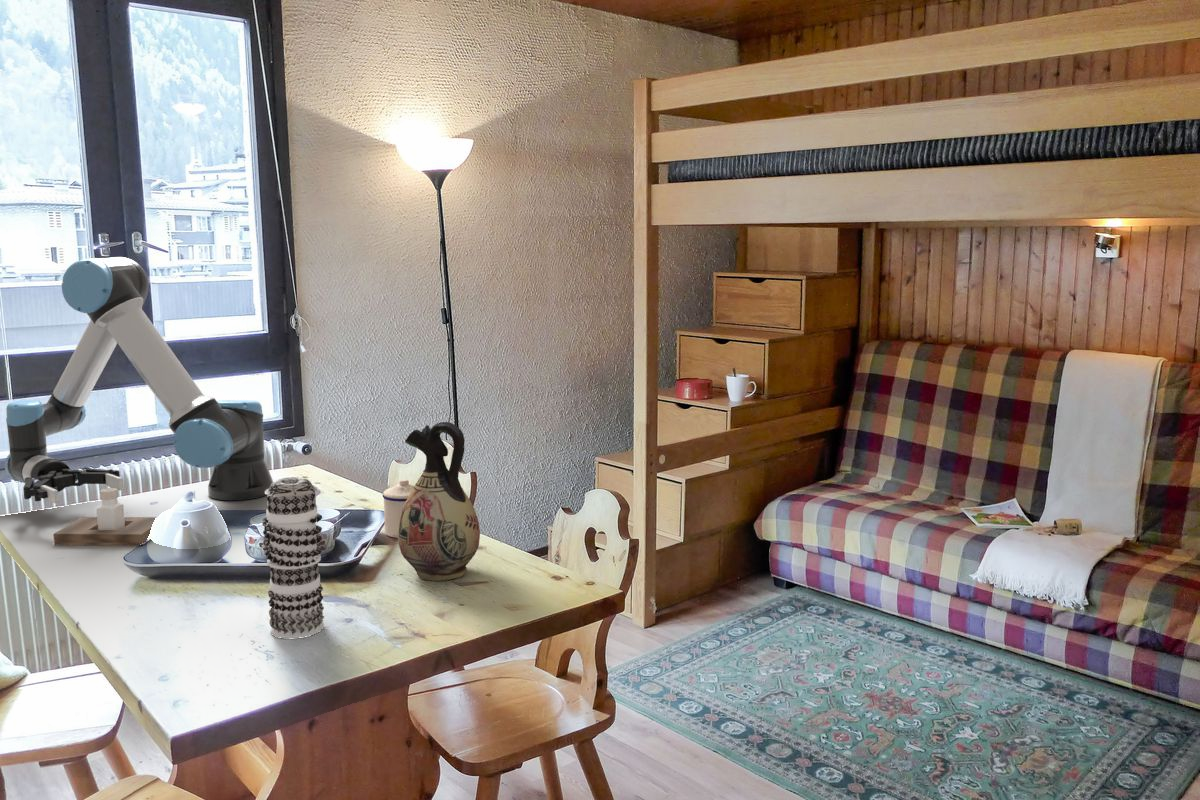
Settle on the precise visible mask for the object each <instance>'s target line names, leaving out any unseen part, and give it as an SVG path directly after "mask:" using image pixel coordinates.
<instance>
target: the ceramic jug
mask: <svg viewBox="0 0 1200 800" xmlns="http://www.w3.org/2000/svg"><path fill="white" fill-rule="evenodd" d="M441 434H447V435H449V436H450V438H451V439H452V443H453V451H452V456H451V459H450V461H451V462H450V466H449V469H448V468H447V464H446V462H445V458H444V457H448V455H449V449H448V448H447V446H446V444H445V443H444V441H443V439H442V437H441ZM465 441H466V440H465V436H464V433H463V431H462V430H461V428H460V427H458V425H456V424H454V423H452V422H448V421H441V422H438V423H436V424H434V425H433V426H432V427H430V426H429V425H428V424H427V425H425V426H424V428H423V429H422V430H419V429H414V430H413V431H411V432H410V433H409V434H408V436H407V438H406V439H405V441H404V443H405V444H407V445H409V446H411V447H413V448H416V449H417V450H419V451H421V452H422V453H423V454H424V455H425V459H426V462H425V467H424V469H423V470H422V473H421V474H420V477H419V479H418V480H417V481H416V482H415V484H413V485H414V488H413V489H412V491H411V493H410V495H409V497H408V499H407V500H406V502H405V505H404V507H403V510H402V513H401V517H400V522H399V528H398V538H397V544H398V547H399V550H400V553H401V555H402V557H403V558H404V559H405V560H406V562H408V563H409V565H410V566H411V567H412V568H413V569H414V571H415V572H416V576H417V575H418V576H419V577H418V576H417V577H418V578H420V579H422V580H425V581H431V580H432V581H433V582H434V581H435V582H436V581H448V580H453V579H458V578H461V577H463V576H465V574H466V572H467V570H468V568H467V566H468V564H469V563H470V562H471V560H473V558H474V556H475V555H476V553H477V551H478V550H479V545H480V539H481V530H480V522H479V519H478V516H477V513H476V511H475V508H474V505H473V504H472V501H471V499H470V498H469V496H468V494H467V493H466V492H465V491H464V488H463V487H462V485H461V483H460V480H459V473H460V470H461V466H462V461H463V459H464V454H465Z"/></svg>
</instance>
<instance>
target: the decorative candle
mask: <svg viewBox="0 0 1200 800" xmlns="http://www.w3.org/2000/svg"><path fill="white" fill-rule="evenodd" d="M317 491H318V487H317V486H315V485H313V484H312V482H311V481H310V480H309V479H307V478H305V477H299V476H298V477H297V476H294V477H293V476H292V477H285V478H284V477H283V478H279V479H276V480H275V481H274V480H273V483H272V484H271V486H270V488H269V489H267V490H265V494H267V495H266V506H267V508H266V511H265V512H266V513H265V514H266V516H265V517H264V518H262V522H261V523H262V524H261V525H262V526H263V527H264V528H263V529H264V530H263V531H262V534H263V536H264V538H265V543H264V547H265V549H266V551H265V553H264V554H265V558H266V559H267V560H266V564H267V566H268V567H269V569H270V570H269V571H270V572H269V573H270V578H269V590H268V592H267V594H268V597H269V600H268V604H269V607H270V608H269V611H268V615H269V617H270V619H269V622H268V623H269V626H270V634H271V635H272V634H273V635H274V636H276V637H275V638H277V637H281V638H299V637H305V636H309V635H313V634H315V633H317V632H319V631H321V629H322V628H323V627H325V626H324V625H325V624H324V619H325V615H324V613H323V611H324V610H325V607H324V605H323V603H322V601H323V599H324V596H323V595H322V591H323V589H324V587H323V586H322V584H321V575H320V573H319V572H320V571H319V562H320V561H322V557H321V553H322V550H323V549H322V548H321V547H319V546H317V544H319V543H321V542H322V540H323V537H322V536H321V535H319V534H320V533H321V532H322V531H323V530H322V529H323V528H322V527H321V526H319V525H318V524H317V523H319V522H320V521H322V520H323V515H322V514H319V513H318V505H317V504H316V503H317V499H316V498H317V497H316V492H317ZM323 629H324V628H323ZM319 633H320V632H319ZM317 634H318V633H317ZM273 635H272V636H273ZM315 635H316V634H315ZM274 636H273V637H274ZM313 636H314V635H313Z"/></svg>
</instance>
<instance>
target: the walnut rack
mask: <svg viewBox="0 0 1200 800" xmlns="http://www.w3.org/2000/svg"><path fill="white" fill-rule="evenodd" d="M155 518H156V516H155V517H153V516H152V517H149V516H148V517H147V516H145V517H144V516H141V517H140V516H138V517H137V516H133V517H132V516H131V517H130V516H124V521H125V527H124V528H122V529H121V530H98V520H97V516H82V517H80V518H78V519H77V520H75V521H73V522H72V523H70V524H69V525H66V526H65V527H63V528H61V529H59V530H58V531H55V532H54V533H53V534H52V535H53V545H54V546H119V547H120V546H126V547H127V546H131V547H132V546H134V547H136V546H137V547H138V545H140V544H142V543H144V542H146V540H147V538H148V536H149V534H150V530H151V527H152V524H153V522H154V520H155Z"/></svg>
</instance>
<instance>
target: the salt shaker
mask: <svg viewBox="0 0 1200 800" xmlns="http://www.w3.org/2000/svg"><path fill="white" fill-rule="evenodd" d="M99 494H100V500H101V504H99V505H98V506H96V517H97V520H98V530H121V529H122V528H124V527H125V521H124V517H125V512H124V511H125V510H124V509H125V508H124V504H123V503H121V502H118V497H119V496H118V490H117V489H116V488H111V487H108V488H103V489H101V490H99Z"/></svg>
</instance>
